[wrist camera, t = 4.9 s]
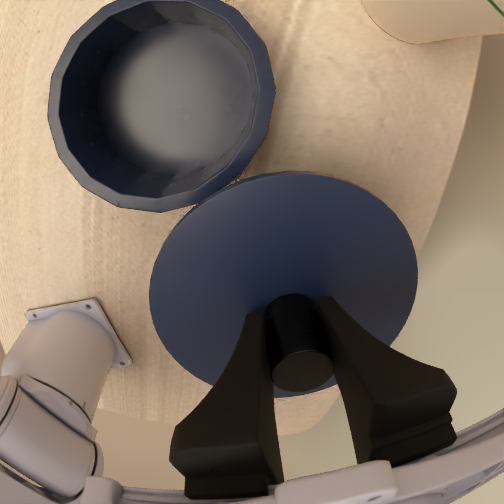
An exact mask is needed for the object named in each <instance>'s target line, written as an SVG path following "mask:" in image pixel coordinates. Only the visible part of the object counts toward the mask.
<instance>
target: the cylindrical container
mask: <svg viewBox="0 0 504 504" xmlns="http://www.w3.org/2000/svg"><path fill="white" fill-rule="evenodd" d="M361 2H362V4H363V6H364V8H365V10H366V11H367V13H368V14H369V16H370V17H371V19H372V20H373V21H374V22H375V23H376V24H377V25H378V26H379V27H380V28H381V29H382V30H384V31H385V32H386V33H388V34H389V35H391V36H393V37H394V38H396V39H399V40H401V41H403V42H408V43H412V44H422V43H427V42H433V41H439V40H446V39H453V38H461V37H469V36H479V35H490V34H504V0H361Z"/></svg>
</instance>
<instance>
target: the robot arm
mask: <svg viewBox="0 0 504 504" xmlns="http://www.w3.org/2000/svg"><path fill="white" fill-rule="evenodd" d="M88 305H90V306H91V307H90V306H88ZM317 305H318V313H319V316H320V319H321V322H322V325H323V328H324V331H325V334H326V337H327V340H328V343H329V346H330V349H331V352H332V355H333V358H334V362H335V371H334V373H333V374H334V376H335V379H336V381H337V384H338V387H339V389H340V392H341V395H342V398H343V401H344V405H345V409H346V413H347V417H348V422H349V426H350V430H351V435H352V439H353V444H354V449H355V454H356V459H357V464H358V465H354V466H350V467H346V468H342V469H339V470H334V471H330V472H324V473H320V474H315V475H309V476H304V477H300V478H295V479H291V480H287V481H285V482H284V476H283V469H282V463H281V456H280V450H279V442H278V435H277V428H276V420H275V412H274V386H273V382H272V380H271V375H270V366H269V358H268V349H267V338H266V329H265V322H264V318H263V314H262V310H260V311H254V312H249V313H247V314H246V316H245V321H244V324H243V328H242V331H241V334H240V336H239V339H238V341H237V344H236V346H235V349H234V351H233V353H232V355H231V357H230V359H229V361H228V363H227V365H226V367H225V369H224V370H223V372H222V374H221V375H220V377H219V379H218V380H217V382H216V383H215V384H214V386H213V387H212V389H211V390H210V391H209V393H208V394H207V395H206V396H205V398H204V399H203V400H202V401H201V402H200V403H199V404H198V406H197V407H196V408H195V409H194V410H193V411H192V412H191V413H190V414H189V415H188V416H187V417H186V418H184V419H183V420H182V421H181V422H180V423H179V424H178V425H177V426H176V427H175V430H174V433H173V437H172V440H171V447H170V456H169V461H170V462H171V463H172V465H173V466H174V467H175V468H176V469H177V470H178V471H179V472H180V473H181V474H182V475H184V476H185V489H184V490H164V489H147V488H135V487H125V486H122V485H121V484H119V483H118V482H117V481H115V480H113V479H110V478H105V477H102V474H103V469H104V458H103V452H102V449H101V447H100V445H99V444H98V443H96V442H95V437H96V434H97V430H96V429H95V428H94V427H93V426H92V425H91V423H92V420H93V416H94V413H95V410H96V407H97V404H98V401H99V398H100V395H101V392H102V389H103V387H104V384H105V381H106V378H107V375H108V372H109V370H110V368H113V367H126V366H131V365H132V360H131V358H130V356H129V355H128V353H127V352H126V350H125V348H124V347H123V345H122V343H121V342H120V340H119V338H118V337H117V335H116V333H115V331H114V330H113V328H112V326H111V324H110V323H109V321H108V319H107V317H106V315H105V314H104V312H103V310H102V308H101V306H100V304H99V303H98V301H96V300H95V299H89V300H84V301H78V302H73V303H67V304H62V305H56V306H51V307H45V308H39V309H34V310H28V311H26V313H25V316H26V318H27V320H28V321H29V322H28V324H27V325H26V327H25V328H24V329H23V331H22V332H21V334H20V335H19V337H18V338H17V340H16V341H15V343H14V344H13V346H12V348H11V349H10V351H9V352H8V354H7V355H6V357H5V359H4V361H3V364H2V369H1V376H0V459H1V460H2V461H3V462H5V463H6V464H8V465H9V466H11V467H12V468H14V469H15V470H17V471H18V472H20V473H21V474H23V475H25V476H26V477H28V478H29V479H31V480H32V481H34V482H36V483H37V484H39V485H41V486H42V487H38V486H35V485H33V484H31V483H30V482H28V481H27V480H25V479H23V478H22V477H20V476H19V475H17V474H15V473H14V472H12V471H11V470H9V469H8V468H7V467H5V466H4V465H2V464H1V463H0V504H449V503H451V502H453V501H455V500H457V499H459V498H461V497H463V496H465V495H466V494H468V493H470V492H472V491H473V490H475V489H477V488H479V487H480V486H482V485H484V484H485V483H487V482H488V481H490V480H492V479H493V478H495V477H496V476H498V475H499V474H501V473H502V472H504V408H503V409H502V410H500V411H498V412H496V413H494V414H493V415H491V416H489V417H487V418H485V419H483V420H481V421H480V422H478V423H476V424H474V425H472V426H470V427H468V428H466V429H463V430H461V431H459V432H457V433H455V431H454V428H453V427H452V424H451V422H452V417H451V415H450V413H449V411H450V409H451V407H452V405H453V403H454V400H455V398H456V395H457V389H456V387H455V385H454V384H453V382H452V380H451V379H450V377H449V376H448V375H447V374H446V373H445V371H444V370H443V369H440V368H437V367H433V366H430V365H427V364H424V363H422V362H419V361H417V360H414V359H412V358H410V357H408V356H406V355H404V354H402V353H400V352H398V351H396V350H394V349H392V348H391V347H389V346H388V345H386V344H384V343H383V342H381V341H380V340H379V339H377V338H376V337H374V336H373V335H372V334H370V333H369V332H368V331H367V330H365V329H364V328H363V327H362V326H361V325H360V324H358V323H357V322H356V321H355V320H354V319H353V318H352V317H351V316H350V315H349V314H348V313H347V312H346V311H345V310H344V309H343V308H342V307H341V306H340V305H339V304H338V303H337V301H336V300H335V299H334V298H333V297H332V296H327V297H323V298H318V299H317Z"/></svg>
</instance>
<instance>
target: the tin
mask: <svg viewBox="0 0 504 504" xmlns="http://www.w3.org/2000/svg"><path fill="white" fill-rule="evenodd" d="M275 90H276V87H275V83H274V78H273V74H272V69H271V65H270V61H269V56H268V52H267V48H266V45H265V43H264V42H263V41H262V39H261V38H260V37H259V36H258V34H257V33H256V32H255V30H254V29H253V28H252V27H251V25H250V24H249V23H248V22H247V21H246V19H245V18H244V17H243V16H242V14H241V13H240V12H239V11H238V10H236V8H234V7H232V6H230V5H228V4H226V3H224V2H222V1H220V0H116V1H114V2H112V3H109V4H107V5H106V6H104V7H102V8H101V9H100V10H99V11H98V12H97V13H96V14H94V15H93V16H92V17H91V18H90V19H89V20H88V21H87V22H86V23H85V24H83V25H82V26H81V27H80V28H79V29H78V30H77V31H76V32H75V33H74V34H73V35H72V36H71V37H70V39H69V41H68V43H67V45H66V47H65V49H64V51H63V53H62V54H61V56H60V58H59V61H58V63H57V65H56V67H55V69H54V71H53V73H52V76H51V83H50V92H49V103H48V115H47V117H48V122H49V126H50V129H51V133H52V136H53V140H54V143H55V147H56V150H57V153H58V156H59V158H60V159H61V161H62V162H63V163H64V164H65V166H66V167H67V168H68V170H69V171H70V172H71V173H72V175H73V176H74V177H75V179H76V180H77V181H78V182H79V184H80V185H81V186H82V187H84V188H85V189H86V190H88V191H90V192H92V193H93V194H95V195H97V196H99V197H101V198H102V199H104V200H106V201H108V202H109V203H111V204H113V205H115V206H116V207H120V208H127V209H135V210H142V211H150V212H157V213H158V212H160V213H162V212H166V211H170V210H174V209H178V208H182V207H186V206H190V205H194V204H199V203H200V202H201V201H202V200H204V199H205V198H207V197H208V196H210V195H212V194H213V193H215V192H217V191H218V190H220V189H222V188H223V187H225V186H226V185H228V184H229V183H231V182H232V181H234V180H235V179H237V178H238V177H239V175H241V174H242V173H243V171H244V170H245V168H246V167H247V165H248V164H249V162H250V161H251V159H252V158H253V156H254V155H255V153H256V152H257V150H258V149H259V147H260V146H261V144H262V143H263V141H264V140H265V138H266V136H267V133H268V128H269V123H270V118H271V113H272V108H273V103H274V98H275V93H276V91H275Z"/></svg>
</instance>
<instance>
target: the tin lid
mask: <svg viewBox="0 0 504 504" xmlns="http://www.w3.org/2000/svg"><path fill="white" fill-rule="evenodd" d="M417 279H418V268H417V260H416V254H415V250H414V247H413V244H412V241H411V239H410V237H409V234H408V232H407V230H406V228H405V227H404V225H403V224H402V222H401V221H400V220H399V218H398V217H397V215H396V214H395V213H394V212H393V211H392V210H391V209H390V208H389V207H388V206H387V205H386V204H385V203H384V202H383V201H382V200H380V199H379V198H378V197H376V196H375V195H373V194H372V193H370V192H369V191H368V190H366V189H365V188H363V187H361V186H359V185H357V184H354V183H352V182H350V181H348V180H345V179H342V178H339V177H336V176H332V175H329V174H323V173H317V172H310V171H282V172H274V173H267V174H261V175H258V176H254V177H250V178H247V179H243V180H240V181H238V182H236V183H233V184H231V185H229V186H226V187H224V188H222V189H220V190H218V191H217V192H215V193H213V194H212V195H210V196H208V197H207V198H205V199H204V200H202V201H201V202H200V203H199V204H197V205H196V206H195V207H194V208H192V209H191V210H190V211H189V212H188V213H187V214H186V215H185V216H184V217H183V218H182V219H181V220H180V221H179V222H178V223H177V225H176V226H175V227H174V228H173V230H172V231H171V233H170V234H169V236H168V237H167V239H166V240H165V242H164V243H163V246H162V248H161V250H160V252H159V254H158V257H157V259H156V261H155V263H154V267H153V271H152V275H151V279H150V288H149V303H150V311H151V316H152V320H153V324H154V326H155V329H156V331H157V334H158V336H159V338H160V340H161V341H162V343H163V344H164V346H165V348H166V349H167V350H168V352H169V353H170V354H171V355H172V357H173V358H174V359H175V360H176V361H177V362H178V363H179V364H180V365H181V366H182V367H183V368H185V369H186V370H187V371H189V372H190V373H191V374H193V375H194V376H195V377H197V378H199V379H201V380H202V381H204V382H206V383H208V384H210V385H212V386H214V384H215V383H216V382H217V380H218V379H219V377H220V375H221V374H222V372H223V370H224V369H225V367H226V365H227V363H228V361H229V359H230V357H231V355H232V353H233V351H234V349H235V346H236V344H237V341H238V339H239V336H240V334H241V331H242V328H243V324H244V321H245V316H246V314H247V313H249V312H254V311H260V310H262V314H263V318H264V322H265V329H266V338H267V349H268V358H269V366H270V375H271V380H272V382H273V386H274V398H282V397H293V396H299V395H305V394H309V393H313V392H317V391H320V390H323V389H326V388H329V387H332V386H334V385H336V384H337V381H336V379H335V376H334V374H333V373H334V371H335V362H334V358H333V355H332V352H331V349H330V346H329V343H328V340H327V337H326V334H325V331H324V328H323V325H322V322H321V319H320V316H319V313H318V305H317V299H318V298H323V297H327V296H332V297H333V298H334V299H335V300H336V301H337V303H338V304H339V305H340V306H341V307H342V308H343V309H344V310H345V311H346V312H347V313H348V314H349V315H350V316H351V317H352V318H353V319H354V320H355V321H356V322H357V323H358V324H360V325H361V326H362V327H363V328H364V329H365V330H367V331H368V332H369V333H370V334H372V335H373V336H374V337H376V338H377V339H379V340H380V341H381V342H383V343H384V344H386V345H388V346H390V345H391V344H392V342H393V341H394V340H395V339H396V337H397V336H398V334H399V333H400V331H401V330H402V328H403V326H404V325H405V323H406V321H407V319H408V316H409V314H410V312H411V309H412V306H413V303H414V300H415V295H416V290H417V282H418V280H417Z"/></svg>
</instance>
